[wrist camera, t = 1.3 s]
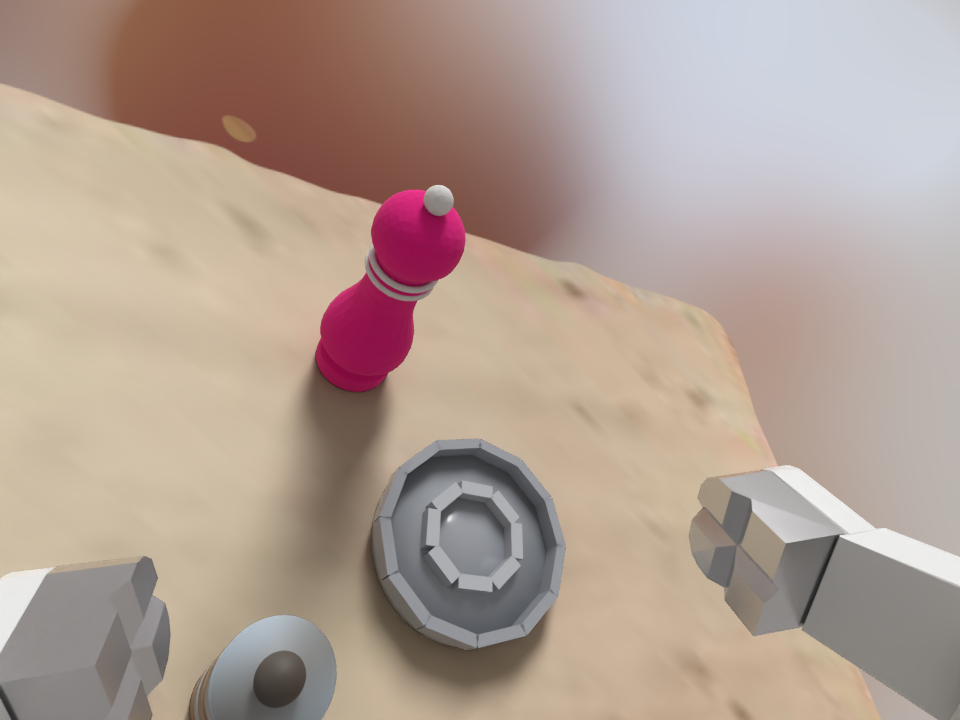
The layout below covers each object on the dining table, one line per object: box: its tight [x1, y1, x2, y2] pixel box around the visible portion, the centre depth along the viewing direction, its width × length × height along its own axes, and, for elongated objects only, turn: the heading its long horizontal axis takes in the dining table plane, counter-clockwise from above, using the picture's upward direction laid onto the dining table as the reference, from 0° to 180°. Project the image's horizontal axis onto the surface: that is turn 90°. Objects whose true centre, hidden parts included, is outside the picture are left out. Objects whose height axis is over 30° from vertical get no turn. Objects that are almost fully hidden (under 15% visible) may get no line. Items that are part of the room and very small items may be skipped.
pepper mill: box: [316, 185, 465, 392], centre depth 40 cm, size 7×7×20 cm
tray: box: [371, 439, 566, 651], centre depth 42 cm, size 15×15×3 cm
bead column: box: [190, 615, 337, 720], centre depth 26 cm, size 4×4×17 cm
